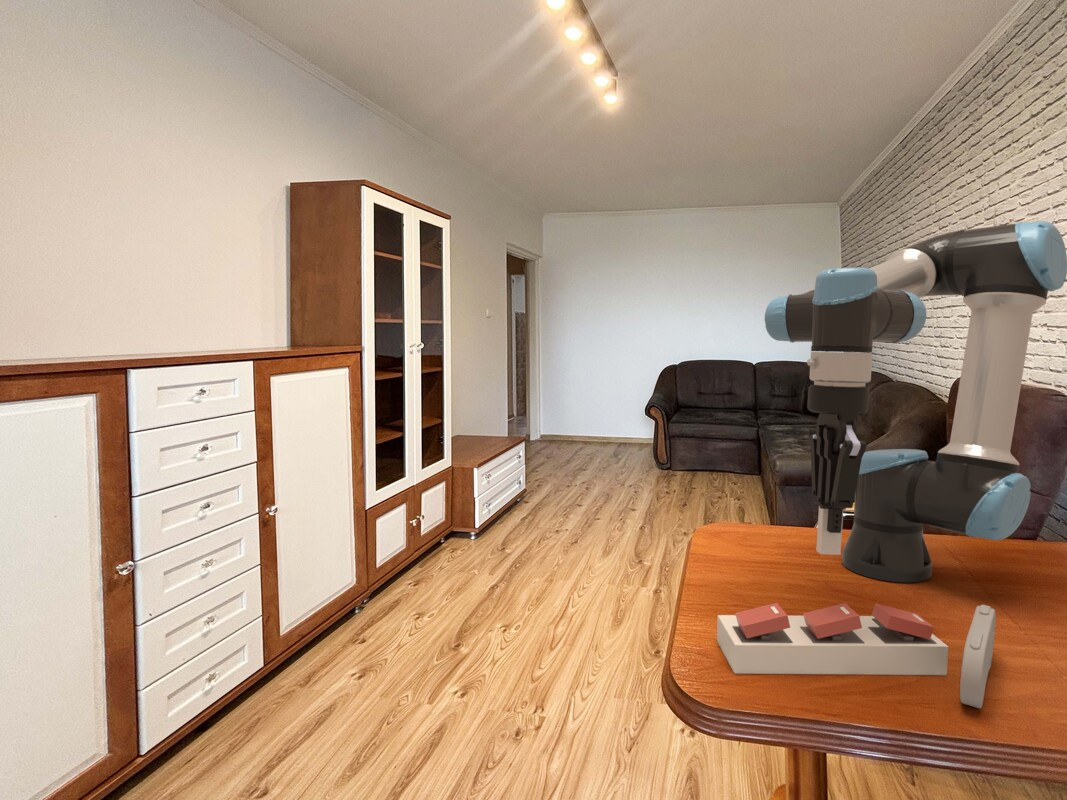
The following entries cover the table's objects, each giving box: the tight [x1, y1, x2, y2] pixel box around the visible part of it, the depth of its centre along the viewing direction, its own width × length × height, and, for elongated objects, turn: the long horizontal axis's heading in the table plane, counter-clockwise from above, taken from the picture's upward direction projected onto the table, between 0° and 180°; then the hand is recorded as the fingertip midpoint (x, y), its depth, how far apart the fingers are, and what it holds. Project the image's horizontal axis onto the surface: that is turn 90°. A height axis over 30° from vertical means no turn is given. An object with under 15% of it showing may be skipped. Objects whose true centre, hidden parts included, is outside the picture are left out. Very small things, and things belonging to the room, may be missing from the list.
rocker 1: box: [734, 602, 790, 638], centre depth 86 cm, size 6×4×2 cm, turn 87°
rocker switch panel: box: [716, 614, 949, 676], centre depth 88 cm, size 28×9×5 cm, turn 88°
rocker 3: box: [871, 602, 935, 639], centre depth 86 cm, size 6×4×2 cm, turn 90°
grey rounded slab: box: [959, 604, 997, 709], centre depth 81 cm, size 20×2×8 cm, turn 140°
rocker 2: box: [802, 602, 862, 639], centre depth 86 cm, size 6×4×2 cm, turn 87°
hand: (828, 552), depth 87 cm, fingers closed
